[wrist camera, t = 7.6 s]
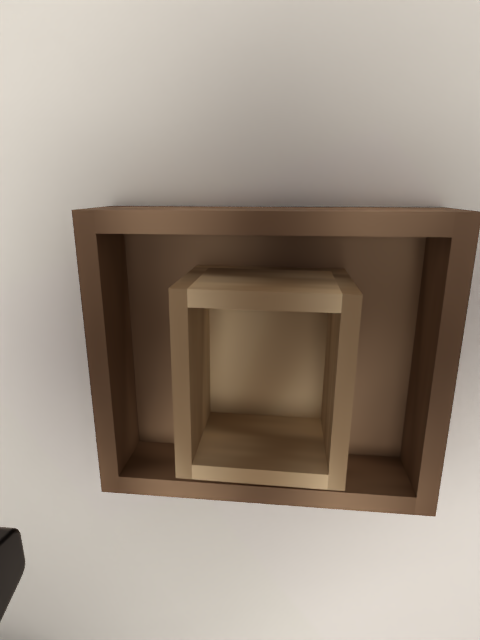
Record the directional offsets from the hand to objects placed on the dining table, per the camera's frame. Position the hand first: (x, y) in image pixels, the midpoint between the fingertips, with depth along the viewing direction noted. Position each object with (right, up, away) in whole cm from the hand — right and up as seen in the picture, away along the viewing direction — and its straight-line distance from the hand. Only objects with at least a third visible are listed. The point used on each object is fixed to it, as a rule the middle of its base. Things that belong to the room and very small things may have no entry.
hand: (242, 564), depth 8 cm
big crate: (+1, +4, +11) cm, 12 cm away
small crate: (+1, +3, +10) cm, 11 cm away
